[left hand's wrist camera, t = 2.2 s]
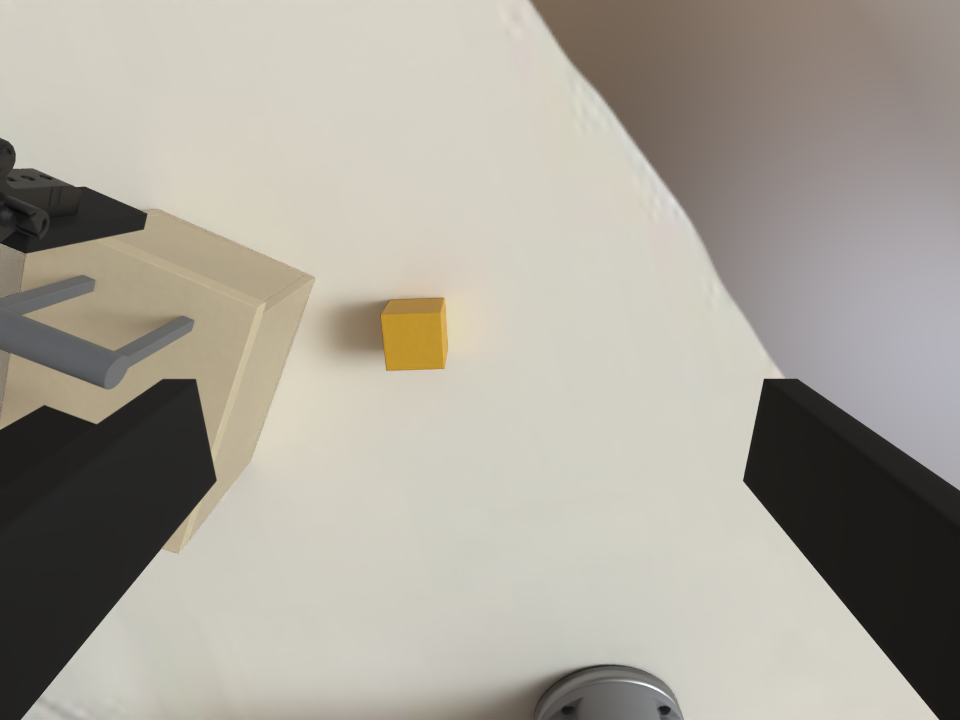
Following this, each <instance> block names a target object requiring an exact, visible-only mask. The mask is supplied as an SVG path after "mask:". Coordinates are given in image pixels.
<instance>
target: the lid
mask: <svg viewBox="0 0 960 720" xmlns="http://www.w3.org/2000/svg"><path fill="white" fill-rule="evenodd" d="M265 306H266V302H264V301H262V300H259V299H257V298H254V297H252V296H250V295H247V294H245V293H242V292H240V291H238V290H235V289H233V288H231V287H228V286H226V285H223V284H221V283H219V282H216V281H214V280H212V279H209V278H207V277H204V276H202V275H200V274H197V273H195V272H193V271H190V270H188V269H185V268H183V267H181V266H178V265H176V264H173V263H171V262H169V261H166V260H164V259H162V258H159V257H157V256H154V255H152V254H150V253H147V252H145V251H143V250H140V249H138V248H135V247H133V246H131V245H128V244H126V243H124V242H121V241H119V240H116V239H114V238H112V237H105V238H101V239H96V240H91V241H86V242H81V243H76V244H71V245H67V246H62V247H57V248H52V249H47V250H42V251H37V252H32V253H28V254H26V255H25V262H24V268H23V274H22V281H21V287H20V293H17V294H14V295H10V296H7V297H3V298H0V349H1V350H4V351H6V352H9V353H10V357H9V364H8V370H7V376H6V383H5V389H4V395H3V402H2V408H1V415H0V430H1V429H2V428H4V427H6V426H8V425H9V424H11V423H13V422H15V421H17V420H18V419H20V418H22V417H24V416H26V415H27V414H29V413H31V412H33V411H34V410H36V409H38V408H40V407H42V406H43V405H46V406H49V407H51V408H54V409H57V410H60V411H62V412H65V413H68V414H70V415H73V416H76V417H79V418H81V419H84V420H87V421H90V422H92V423H95V424H98V423H99V422H101V421H102V420H104V419H105V418H107V417H108V416H110V415H111V414H112V413H114V412H115V411H117V410H118V409H120V408H121V407H123V406H124V405H126V404H127V403H128V402H130V401H131V400H133V399H134V398H136V397H137V396H139V395H140V394H141V393H143V392H144V391H146V390H147V389H149V388H150V387H152V386H153V385H155V384H156V383H157V382H159V381H160V380H162V379H196V381H197V386H198V391H199V396H200V401H201V406H202V411H203V415H204V420H205V425H206V430H207V435H208V440H209V445H210V450H211V454H212V459H213V464H214V462H215V459H216V456H217V453H218V450H219V447H220V444H221V441H222V437H223V434H224V431H225V428H226V425H227V422H228V419H229V416H230V413H231V410H232V407H233V404H234V401H235V398H236V395H237V392H238V388H239V385H240V382H241V379H242V376H243V373H244V370H245V367H246V364H247V361H248V358H249V355H250V352H251V349H252V346H253V343H254V339H255V336H256V333H257V330H258V327H259V324H260V321H261V318H262V315H263V312H264V309H265ZM202 499H203V498H202ZM201 502H202V500H201V501H200V502H199V503H198V504H197V506H196V507H195V508H194V509H193V511H192V512H191V513H190V514H189V515H188V517H187V518H186V519H185V520H184V522H183V523H182V524H181V525H180V526H179V528H178V529H177V530H176V531H175V532H174V534H173V535H172V536H171V537H170V539H169V540H168V541H167V542H166V543H165V545H164V546H163V547H162V549H165V550H168V551H171V552H174V553H177V554H179V553H180V552H181V551H182V550H183V548H184V547H185V546H186V544H187V543H188V542H189V539H190V536H191V532H192V529H193V526H194V523H195V520H196V517H197V514H198V511H199V508H200V505H201Z"/></svg>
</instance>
